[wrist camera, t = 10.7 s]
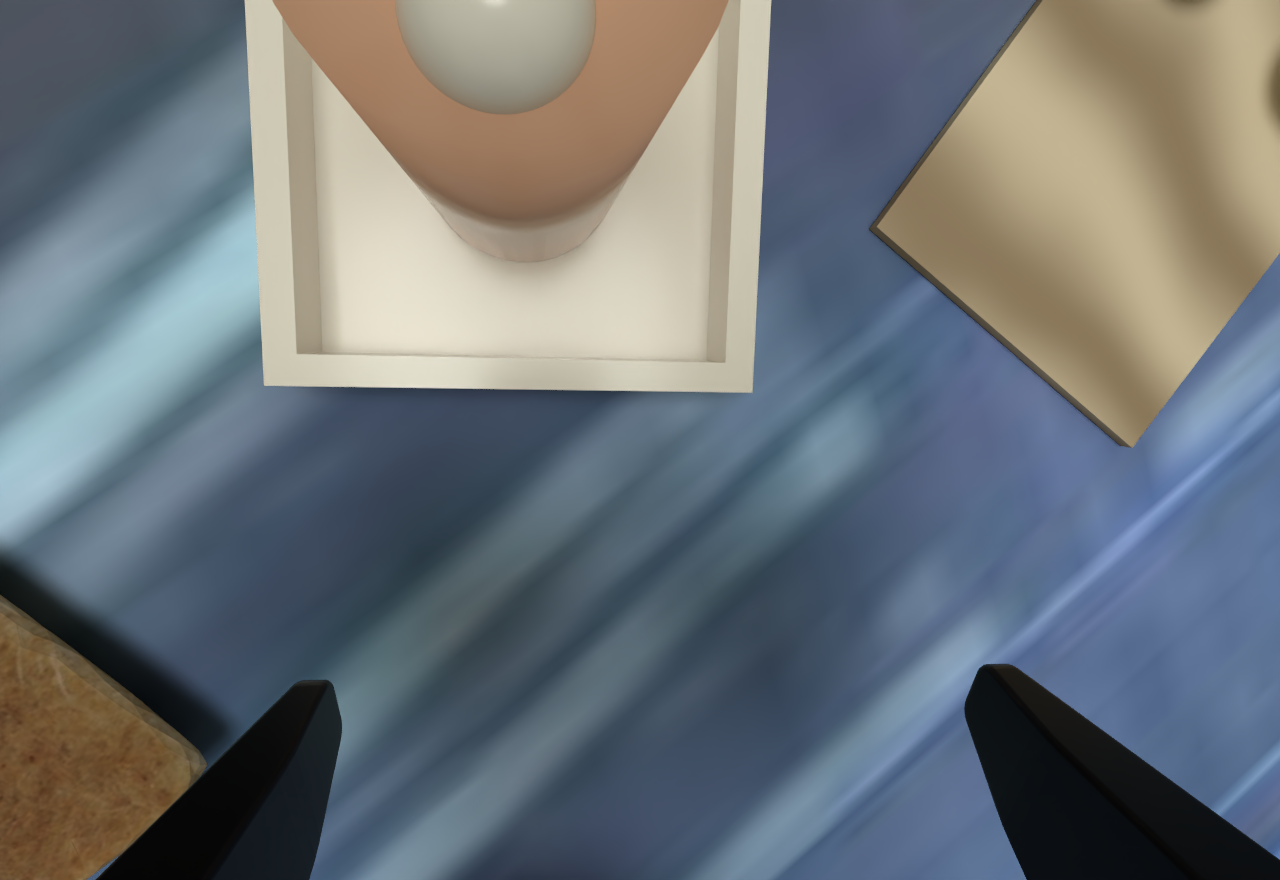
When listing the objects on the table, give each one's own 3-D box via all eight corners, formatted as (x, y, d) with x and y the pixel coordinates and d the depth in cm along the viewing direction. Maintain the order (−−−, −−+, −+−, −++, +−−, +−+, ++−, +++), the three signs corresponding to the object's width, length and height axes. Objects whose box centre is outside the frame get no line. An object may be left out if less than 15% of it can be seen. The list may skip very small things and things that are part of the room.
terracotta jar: (654, 193, 21) (866, -53, 7) (500, 299, 20) (434, 240, 7) (545, 21, 20) (567, -633, 6) (381, 131, 19) (50, -303, 6)
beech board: (1120, 445, 25) (1132, 447, 24) (869, 229, 22) (876, 226, 22) (1406, 67, 24) (1424, 62, 24) (1180, -196, 22) (1195, -208, 21)
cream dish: (724, 384, 23) (752, 392, 20) (302, 378, 21) (264, 385, 18) (742, -49, 21) (776, -112, 18) (282, -98, 19) (236, -177, 16)
